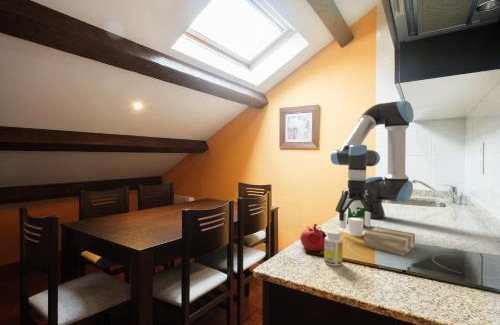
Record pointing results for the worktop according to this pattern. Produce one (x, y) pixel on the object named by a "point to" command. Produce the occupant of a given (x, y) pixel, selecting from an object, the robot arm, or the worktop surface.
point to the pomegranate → (313, 239)
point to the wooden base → (389, 240)
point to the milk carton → (356, 210)
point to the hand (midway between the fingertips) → (355, 227)
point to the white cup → (355, 226)
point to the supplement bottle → (333, 248)
